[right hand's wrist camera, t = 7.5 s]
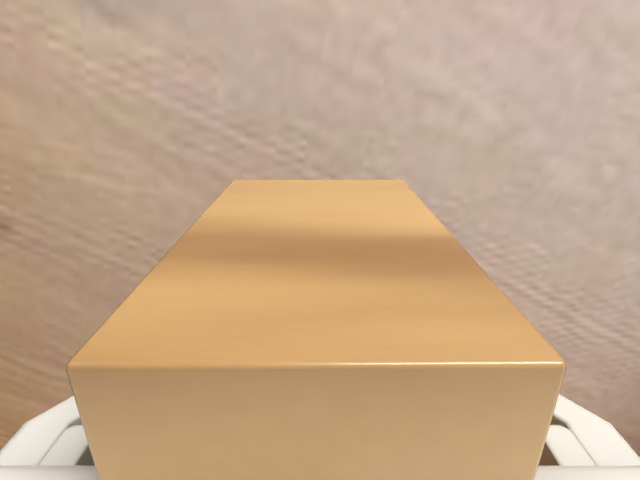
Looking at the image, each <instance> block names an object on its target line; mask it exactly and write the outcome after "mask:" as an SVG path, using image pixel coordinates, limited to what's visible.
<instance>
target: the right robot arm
mask: <svg viewBox="0 0 640 480" xmlns="http://www.w3.org/2000/svg"><path fill="white" fill-rule="evenodd" d="M0 480H99V478H98V475H97V471H96V468H95V465H94V461H93V458H92V455H91V451H90V448H89V445H88V441H87V438H86V435H85V431H84V428H83V425H82V421H81V418H80V415H79V411H78V408H77V405H76V401H75V398H74V396H72V397H70V398H68V399H67V400H65V401H63V402H61V403H59V404H58V405H56V406H54V407H52V408H51V409H49V410H47V411H45V412H44V413H42V414H40V415H38V416H36V417H35V418H33V419H31V420H29V421H28V422H26V423H24V425H23V426H22V427H21V428H20V429H19V430H18V431H17V433H16V434H15V435H14V436H13V437H12V438H11V439H10V441H9V442H8V443H7V444H6V445H5V446H4V447H3V448H2V450H1V451H0ZM534 480H640V457H639V456H638V455H637V454H636V453H635V451H634V450H633V449H632V448H631V447H630V446H629V444H628V443H627V442H626V441H625V440H624V439H623V437H622V436H621V435H620V434H619V433H618V432H617V430H616V429H615V428H614V427H613V426H612V425H611V424H610V423H609V422H607V421H605V420H603V419H602V418H600V417H598V416H596V415H595V414H593V413H591V412H589V411H588V410H586V409H584V408H582V407H581V406H579V405H577V404H576V403H574V402H572V401H570V400H569V399H567V398H565V397H563V396H562V395H560V394H559V396H558V399H557V403H556V406H555V410H554V413H553V416H552V420H551V423H550V427H549V430H548V434H547V437H546V441H545V444H544V448H543V451H542V455H541V458H540V462H539V465H538V469H537V472H536V476H535V479H534Z"/></svg>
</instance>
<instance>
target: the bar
mask: <svg viewBox="0 0 640 480" xmlns="http://www.w3.org/2000/svg"><path fill="white" fill-rule="evenodd" d="M66 371H67V375H68V378H69V381H70V385H71V388H72V391H73V395H74V398H75V401H76V405H77V408H78V411H79V415H80V418H81V421H82V425H83V428H84V431H85V435H86V438H87V441H88V445H89V448H90V451H91V455H92V458H93V461H94V465H95V468H96V471H97V475H98V478H99V480H534V479H535V476H536V472H537V469H538V465H539V462H540V458H541V455H542V451H543V448H544V444H545V441H546V437H547V434H548V430H549V427H550V423H551V420H552V416H553V413H554V410H555V406H556V403H557V399H558V396H559V392H560V389H561V385H562V382H563V378H564V375H565V371H566V363H565V361H564V360H563V359H562V357H561V356H560V355H559V354H558V353H557V352H556V351H555V350H554V349H553V347H552V346H551V345H550V344H549V343H548V342H547V341H546V340H545V338H544V337H543V336H542V335H541V334H540V333H539V332H538V331H537V330H536V328H535V327H534V326H533V325H532V324H531V323H530V322H529V321H528V319H527V318H526V317H525V316H524V315H523V314H522V313H521V312H520V311H519V309H518V308H517V307H516V306H515V305H514V304H513V303H512V302H511V300H510V299H509V298H508V297H507V296H506V295H505V294H504V293H503V292H502V290H501V289H500V288H499V287H498V286H497V285H496V284H495V283H494V281H493V280H492V279H491V278H490V277H489V276H488V275H487V274H486V273H485V271H484V270H483V269H482V268H481V267H480V266H479V265H478V264H477V262H476V261H475V260H474V259H473V258H472V257H471V256H470V255H469V254H468V252H467V251H466V250H465V249H464V248H463V247H462V246H461V245H460V243H459V242H458V241H457V240H456V239H455V238H454V237H453V236H452V234H451V233H450V232H449V231H448V230H447V229H446V228H445V227H444V226H443V224H442V223H441V222H440V221H439V220H438V219H437V218H436V217H435V215H434V214H433V213H432V212H431V211H430V210H429V209H428V208H427V207H426V205H425V204H424V203H423V202H422V201H421V200H420V199H419V198H418V196H417V195H416V194H415V193H414V192H413V191H412V190H411V189H410V188H409V186H408V185H407V184H406V183H405V182H404V181H403V180H233V181H232V182H231V183H230V184H229V186H228V187H227V188H226V189H225V190H224V191H223V192H222V193H221V194H220V195H219V197H218V198H217V199H216V200H215V201H214V202H213V203H212V204H211V205H210V206H209V208H208V209H207V210H206V211H205V212H204V213H203V214H202V215H201V216H200V217H199V219H198V220H197V221H196V222H195V223H194V224H193V225H192V226H191V227H190V228H189V230H188V231H187V232H186V233H185V234H184V235H183V236H182V237H181V238H180V239H179V241H178V242H177V243H176V244H175V245H174V246H173V247H172V248H171V249H170V250H169V252H168V253H167V254H166V255H165V256H164V257H163V258H162V259H161V260H160V261H159V263H158V264H157V265H156V266H155V267H154V268H153V269H152V270H151V271H150V272H149V274H148V275H147V276H146V277H145V278H144V279H143V280H142V281H141V282H140V283H139V285H138V286H137V287H136V288H135V289H134V290H133V291H132V292H131V293H130V294H129V296H128V297H127V298H126V299H125V300H124V301H123V302H122V303H121V304H120V305H119V307H118V308H117V309H116V310H115V311H114V312H113V313H112V314H111V315H110V316H109V318H108V319H107V320H106V321H105V322H104V323H103V324H102V325H101V326H100V327H99V329H98V330H97V331H96V332H95V333H94V334H93V335H92V336H91V337H90V338H89V340H88V341H87V342H86V343H85V344H84V345H83V346H82V347H81V348H80V349H79V351H78V352H77V353H76V354H75V355H74V356H73V357H72V358H71V359H70V360H69V362H68V363H67V366H66Z"/></svg>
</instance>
